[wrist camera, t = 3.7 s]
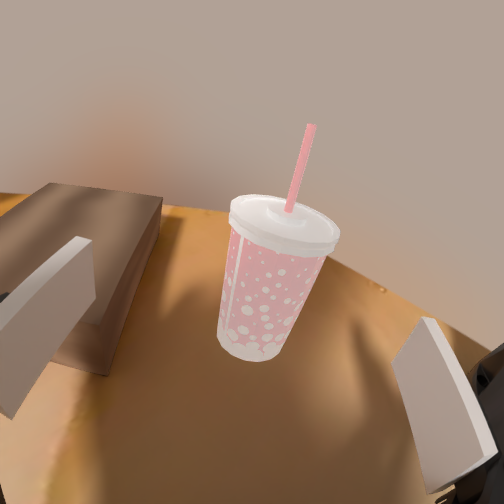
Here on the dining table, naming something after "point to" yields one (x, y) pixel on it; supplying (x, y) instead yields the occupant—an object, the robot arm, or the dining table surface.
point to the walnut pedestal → (104, 257)
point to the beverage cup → (271, 266)
